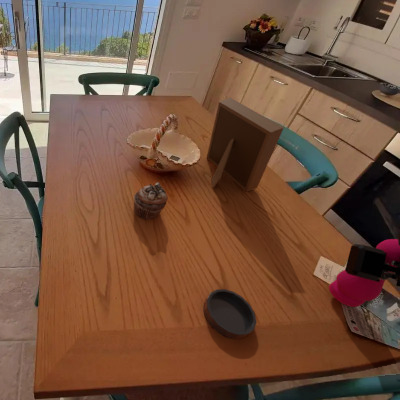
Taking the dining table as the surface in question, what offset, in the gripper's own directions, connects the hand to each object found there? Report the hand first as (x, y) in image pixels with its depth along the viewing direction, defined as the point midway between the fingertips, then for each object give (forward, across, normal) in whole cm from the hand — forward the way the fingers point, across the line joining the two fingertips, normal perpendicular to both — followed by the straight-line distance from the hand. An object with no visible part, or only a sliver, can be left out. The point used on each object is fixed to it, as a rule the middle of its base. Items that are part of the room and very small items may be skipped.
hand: (371, 267), depth 59 cm
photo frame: (+36, +27, -21) cm, 50 cm away
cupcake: (+16, +49, +1) cm, 52 cm away
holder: (-3, +26, +20) cm, 33 cm away
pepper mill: (+6, 0, +8) cm, 10 cm away
